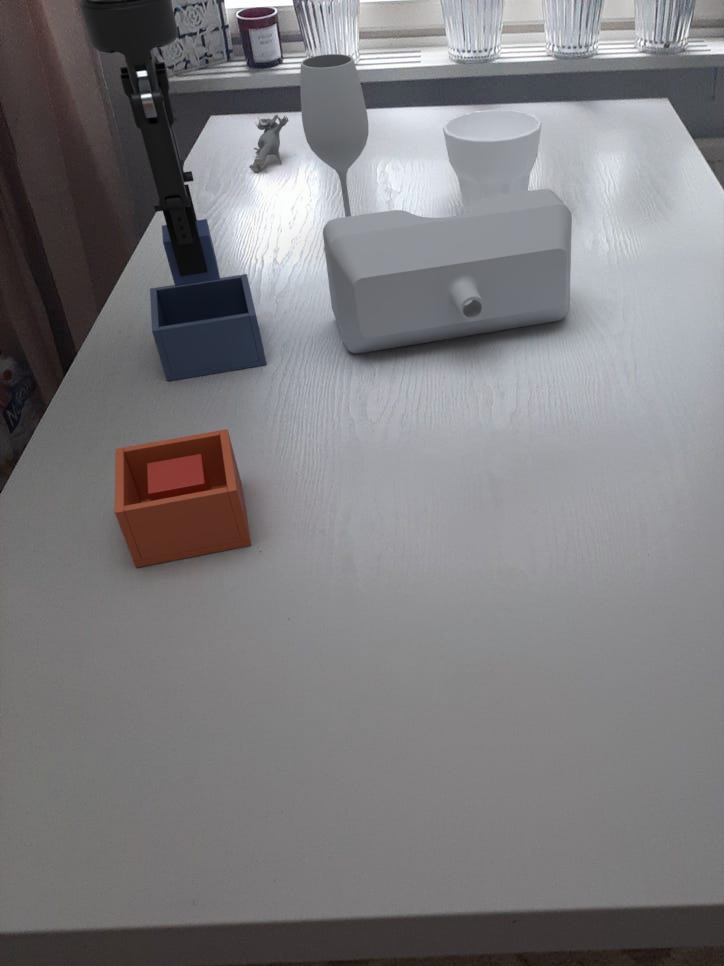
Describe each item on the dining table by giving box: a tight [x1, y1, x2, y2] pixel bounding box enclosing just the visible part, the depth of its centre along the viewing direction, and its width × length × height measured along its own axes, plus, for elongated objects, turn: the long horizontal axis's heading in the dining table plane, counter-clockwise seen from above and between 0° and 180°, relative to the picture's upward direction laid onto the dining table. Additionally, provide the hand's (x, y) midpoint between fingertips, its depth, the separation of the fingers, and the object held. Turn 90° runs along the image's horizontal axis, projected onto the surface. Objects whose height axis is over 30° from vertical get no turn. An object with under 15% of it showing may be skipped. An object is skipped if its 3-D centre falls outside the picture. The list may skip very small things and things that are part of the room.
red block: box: [147, 454, 212, 501], centre depth 81 cm, size 4×4×4 cm
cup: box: [442, 109, 542, 214], centre depth 125 cm, size 12×12×11 cm
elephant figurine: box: [249, 114, 290, 174], centre depth 146 cm, size 10×6×9 cm
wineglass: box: [299, 53, 369, 252], centre depth 116 cm, size 8×8×21 cm
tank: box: [322, 188, 573, 354], centre depth 101 cm, size 25×16×12 cm, turn 105°
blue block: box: [161, 218, 221, 286], centre depth 98 cm, size 4×4×4 cm
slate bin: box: [149, 273, 268, 382], centre depth 103 cm, size 10×10×6 cm
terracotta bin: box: [114, 428, 252, 569], centre depth 81 cm, size 9×9×6 cm
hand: (192, 262), depth 98 cm, fingers closed on blue block, 4 cm apart
